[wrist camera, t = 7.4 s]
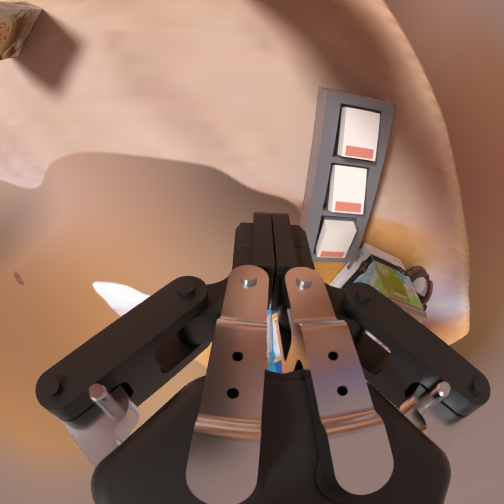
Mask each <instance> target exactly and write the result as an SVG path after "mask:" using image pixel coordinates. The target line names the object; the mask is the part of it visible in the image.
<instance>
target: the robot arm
mask: <svg viewBox="0 0 504 504" xmlns="http://www.w3.org/2000/svg"><path fill="white" fill-rule="evenodd" d="M270 306H271V310H275V311H277V314H278V319H277V324H276V329H277V336H278V342H279V349H280V355H281V362H282V373H277V372H272V371H268V370H265V358H266V342H267V310H269V307H270ZM366 331H368V332H369V333H371V334H372V335H373V336H374V337H375V338H377V339H378V340H379V341H380V342H382V343H383V344H384V345H385V346H386V347H388V348H389V350H390V351H391V353H389V352H388V351H387V350H385V349H384V348H383V347H382V346H381V345H379V344H378V343H377V342H376V341H375V340H373V339H372V338H371V337H370V336H369V335H367V334H366V333H365V332H366ZM212 341H213V342H212ZM211 342H212V347H211V352H210V357H209V362H208V367H207V372H206V375H205V376H203V377H200V378H197V379H195V380H194V381H192V382H190V383H188V384H187V385H186V386H184V387H183V388H182V389H181V390H180V391H179V392H178V393H177V394H175V395H174V396H173V397H172V398H171V399H170V400H169V401H168V402H167V403H166V404H165V405H164V406H163V407H161V408H160V409H159V410H158V411H157V412H156V413H155V414H154V415H153V416H152V417H151V418H149V419H148V420H147V421H146V422H145V423H144V424H143V425H142V426H141V427H139V428H138V429H137V430H136V431H135V432H134V433H133V434H131V435H130V436H129V434H130V432H131V430H132V429H133V428H134V427H135V426H136V424H137V422H138V419H139V411H138V408H137V406H139V405H140V404H141V403H143V402H144V401H145V400H146V399H147V398H149V397H150V396H151V395H152V394H153V393H155V392H156V391H157V390H158V389H159V388H161V387H162V386H163V385H164V384H165V383H166V382H168V381H169V380H170V379H171V378H172V377H174V376H175V375H176V374H177V373H178V372H180V371H181V370H182V369H183V368H184V367H185V366H186V365H188V363H190V362H191V361H192V360H193V359H195V358H196V357H197V356H198V355H199V354H200V353H201V352H203V351H204V350H205V349H206V348H207V347H208V346H209V345H210V343H211ZM366 380H367V381H368V382H369V383H370V384H369V383H368V382H367V381H366ZM374 387H375V388H376V389H377V390H378V391H377V390H376V389H375V388H374ZM382 394H383V395H384V396H385V397H386V398H387V399H388V400H390V401H391V402H392V403H393V404H394V405H395V406H397V407H398V408H399V409H400V411H399V410H398V409H397V408H396V407H395V406H394V405H393V404H391V403H390V402H389V401H388V400H387V399H386V398H385V397H384V396H383V395H382ZM36 397H37V399H38V401H39V403H40V404H41V405H42V406H43V407H44V408H45V409H47V410H48V411H49V412H51V413H52V414H53V415H54V416H55V417H56V418H57V419H58V420H60V421H61V422H63V424H64V425H65V426H66V428H67V430H68V431H69V433H70V434H71V436H72V437H73V439H74V440H75V442H76V443H77V444H78V446H79V447H80V449H81V450H82V451H83V453H84V454H85V455H86V457H87V458H88V460H89V461H90V462H91V463H92V464H93V466H94V467H95V471H94V473H93V476H92V480H91V492H92V497H93V500H94V503H95V504H444V500H445V496H446V493H447V490H448V487H449V483H450V478H451V469H450V463H449V460H448V458H447V456H446V453H447V451H448V449H449V448H450V446H451V444H452V442H453V441H454V439H455V437H456V435H457V434H458V431H459V430H460V428H461V426H462V424H463V422H464V420H465V418H466V417H467V416H468V415H470V414H471V413H472V412H474V411H475V410H477V409H478V408H479V407H481V406H482V405H483V404H485V403H486V402H487V401H488V399H489V397H490V386H489V382H488V380H487V378H486V377H485V376H484V375H483V374H482V373H481V372H480V371H479V370H477V369H476V368H475V367H474V366H473V365H472V364H470V363H469V362H468V361H467V360H466V359H464V358H463V357H462V356H461V355H459V354H458V353H457V352H456V351H455V350H454V349H452V348H451V347H450V346H449V345H447V344H446V343H445V342H444V341H443V340H441V339H440V338H439V337H438V336H436V335H435V334H434V333H433V332H431V331H430V330H429V329H428V328H426V327H425V326H424V325H422V324H421V323H420V322H419V321H417V320H416V319H415V318H413V317H412V316H411V315H410V314H408V313H407V312H406V311H404V310H403V309H402V308H401V307H399V306H398V305H397V304H395V303H394V302H393V301H391V300H390V299H389V298H387V297H386V296H385V295H383V294H382V293H381V292H379V291H378V290H377V289H375V288H374V287H372V286H371V285H369V284H366V283H363V282H355V283H352V284H350V285H348V286H347V288H346V290H344V289H340V288H337V287H333V286H330V285H328V284H326V283H324V281H323V278H322V277H321V275H320V274H319V273H318V272H316V271H315V268H314V264H313V260H312V256H311V251H310V248H309V243H308V239H307V235H306V232H305V231H304V230H303V229H302V228H301V227H300V226H299V225H290V221H289V215H288V214H287V213H271V214H270V213H265V212H254V215H253V223H240V225H239V226H238V227H237V228H236V233H235V244H234V255H233V267H232V271H231V272H230V275H229V276H228V277H227V278H226V279H224V280H222V281H220V282H217V283H214V284H208V285H206V284H205V283H204V281H202V280H201V279H199V278H197V277H193V276H184V277H179V278H177V279H175V280H173V281H172V282H170V283H169V284H168V285H166V286H165V287H163V288H162V289H160V290H159V291H157V292H156V293H154V294H153V295H152V296H150V297H149V298H147V299H146V300H144V301H143V302H142V303H140V304H139V305H137V306H136V307H134V308H133V309H132V310H130V311H129V312H127V313H126V314H124V315H123V316H122V317H120V318H119V319H117V320H116V321H115V322H113V323H112V324H110V325H109V326H108V327H106V328H105V329H103V330H102V331H100V332H99V333H98V334H96V335H95V336H94V337H92V338H91V339H89V340H88V341H87V342H85V343H84V344H82V345H81V346H80V347H79V348H77V349H76V350H74V351H73V352H72V353H70V354H69V355H67V356H66V357H65V358H63V359H62V360H60V361H59V362H58V363H56V364H55V365H54V366H52V367H51V368H50V369H48V370H47V371H46V372H44V373H43V374H42V375H41V376H40V378H39V379H38V381H37V385H36ZM128 436H129V437H128Z"/></svg>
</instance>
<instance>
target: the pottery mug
mask: <svg viewBox="0 0 504 504" xmlns="http://www.w3.org/2000/svg"><path fill="white" fill-rule="evenodd" d="M407 274H408V276H409V278H410V280H411V282H412V283H413V281H414V280H415V279H416V278H418V277H425V278H426V279H427V283H428V288H427V292H426V295H425V297H424V296H422V295H419V294H418V293H417V292H416V293H417V295H418V297H419V299H420V302H421V304H422V306H423V308H424V311H425V310H426V308H427V306H426V303H427V302H428V300H429V299H430V297H431V294H432V290H433V283H432V281H430V280H429V275H428V274H427V272H426V271H425V269H423V267H414V268H411V269H410V271H407Z"/></svg>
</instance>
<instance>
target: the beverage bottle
mask: <svg viewBox="0 0 504 504" xmlns="http://www.w3.org/2000/svg"><path fill="white" fill-rule="evenodd" d="M277 319H278V314H277V311H275V310H271V306H270V307H269V310H267V360H268V362H269V365H268V371H272V372H277V373H282V362H281V355H280V349H279V342H278V336H277V329H276V324H277Z"/></svg>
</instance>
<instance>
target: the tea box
mask: <svg viewBox="0 0 504 504" xmlns="http://www.w3.org/2000/svg"><path fill="white" fill-rule="evenodd" d="M355 282H363V283H366V284H369V285H371V286H372V287H374V288H375V289H377V290H378V291H379V292H381V293H382V294H383V295H385V296H386V297H387V298H389V299H390V300H391V301H393V302H394V303H395V304H397V305H398V306H399V307H401V308H402V309H403V310H404V311H406V312H407V313H408V314H410V315H411V316H412V317H413V318H415V319H416V320H417V321H419V322H420V323H422V322H424V321H425V320H426V319H427V316H426V313H425V311H424V308H423V306H422V304H421V302H420V299H419V297H418V295H417V293H416V290H415V288H414V286H413V284H412V282H411V280H410V278H409V276H408V274H407V272H406V270H405V268H404V266H403V264H402V262H401V260H400V259H398V258H397V257H394V256H392V255H390V254H388V253H386V252H384V251H382V250H380V249H378V248H376V247H374V246H372V245H370V244H368V243H366V242H365V243H364V244H363V246H362V247H361V248H360V249H359V250H358V253H357V256H356V259H355V262H354V263H351V262H348V263H347V265H346V266H345V267H344V268H343V270H342V271H341V272H340V273H339V274H338V275H337V276H336V277H335V279H334V280H333V281H332V282H331V283H330V284H329V285H330V286H333V287H337V288H340V289H344V290H346V288H347V286H348V285H350V284H352V283H355ZM365 333H366V334H367V335H369V336H370V337H371V338H372V339H373V340H375V341H376V342H377V343H378V344H379V345H381V346H382V347H383V348H384V349H385V350H387V351H388V350H389V348H388V347H386V346H385V345H384V344H383V343H382V342H380V341H379V340H378V339H377V338H375V337H374V336H373V335H372V334H371V333H369V332H368V331H366V332H365Z"/></svg>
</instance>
